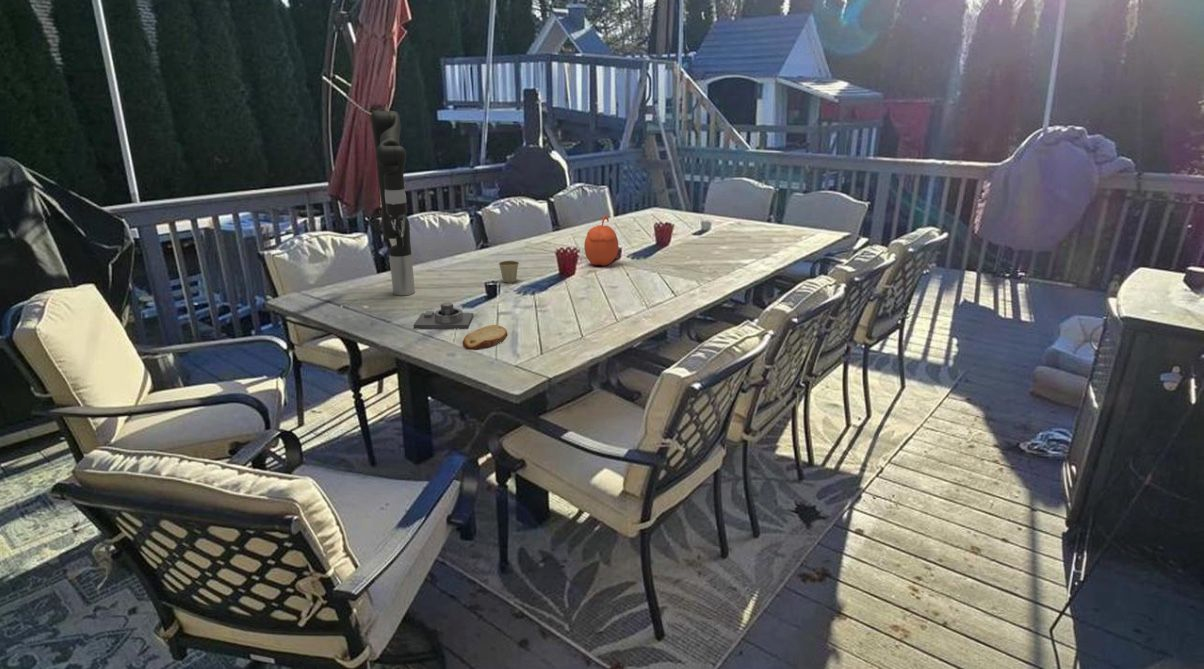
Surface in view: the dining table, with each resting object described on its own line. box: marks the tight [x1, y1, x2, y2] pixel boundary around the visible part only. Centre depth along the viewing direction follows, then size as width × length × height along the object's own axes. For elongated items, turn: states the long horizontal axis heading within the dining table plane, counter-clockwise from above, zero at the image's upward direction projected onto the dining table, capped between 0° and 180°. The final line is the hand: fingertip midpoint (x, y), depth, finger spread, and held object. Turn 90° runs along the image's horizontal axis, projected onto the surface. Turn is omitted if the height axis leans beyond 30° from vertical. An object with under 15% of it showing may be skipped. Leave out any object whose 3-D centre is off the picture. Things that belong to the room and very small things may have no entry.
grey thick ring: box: [434, 307, 464, 324], centre depth 247 cm, size 10×10×3 cm
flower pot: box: [498, 260, 520, 284], centre depth 302 cm, size 9×9×9 cm
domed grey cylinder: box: [440, 302, 454, 315], centre depth 246 cm, size 6×5×6 cm
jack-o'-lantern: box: [584, 215, 619, 267], centre depth 330 cm, size 18×17×25 cm
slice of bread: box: [461, 324, 508, 351], centre depth 232 cm, size 18×18×4 cm
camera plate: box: [413, 310, 475, 330], centre depth 248 cm, size 14×20×3 cm
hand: (400, 246), depth 249 cm, fingers closed
